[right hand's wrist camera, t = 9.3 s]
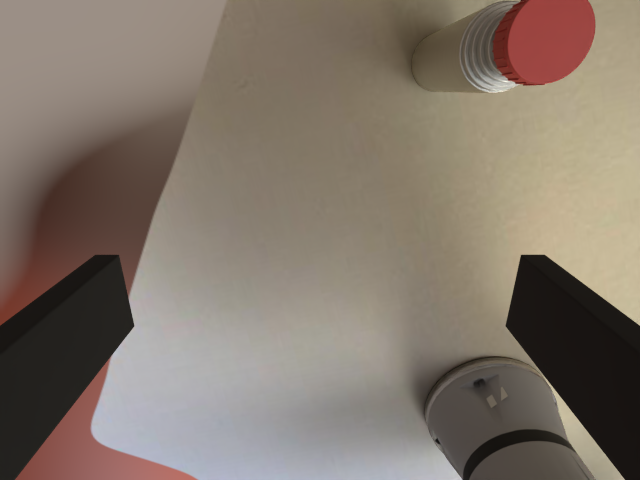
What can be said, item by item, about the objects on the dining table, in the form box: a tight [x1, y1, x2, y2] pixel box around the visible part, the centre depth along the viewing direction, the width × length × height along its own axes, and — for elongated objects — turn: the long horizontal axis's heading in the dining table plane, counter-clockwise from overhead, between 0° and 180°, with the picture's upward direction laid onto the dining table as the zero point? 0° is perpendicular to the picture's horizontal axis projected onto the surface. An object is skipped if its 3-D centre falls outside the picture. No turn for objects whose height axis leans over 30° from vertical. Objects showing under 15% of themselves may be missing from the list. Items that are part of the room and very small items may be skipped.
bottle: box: [412, 1, 519, 93], centre depth 25 cm, size 5×5×17 cm
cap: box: [492, 0, 595, 85], centre depth 18 cm, size 4×4×2 cm
